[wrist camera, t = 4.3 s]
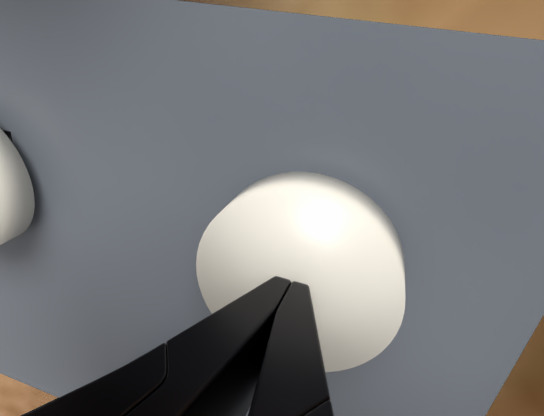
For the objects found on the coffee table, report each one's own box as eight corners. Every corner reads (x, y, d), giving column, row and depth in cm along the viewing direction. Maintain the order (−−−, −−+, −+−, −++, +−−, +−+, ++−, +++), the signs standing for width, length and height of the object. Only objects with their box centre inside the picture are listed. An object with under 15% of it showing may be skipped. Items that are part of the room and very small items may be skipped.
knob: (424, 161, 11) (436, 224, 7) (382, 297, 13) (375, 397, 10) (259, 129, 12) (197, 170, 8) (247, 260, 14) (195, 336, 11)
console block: (575, 48, 11) (691, 57, 6) (408, 428, 19) (410, 545, 14) (-44, -21, 16) (-206, -42, 12) (33, 297, 24) (-47, 353, 20)
